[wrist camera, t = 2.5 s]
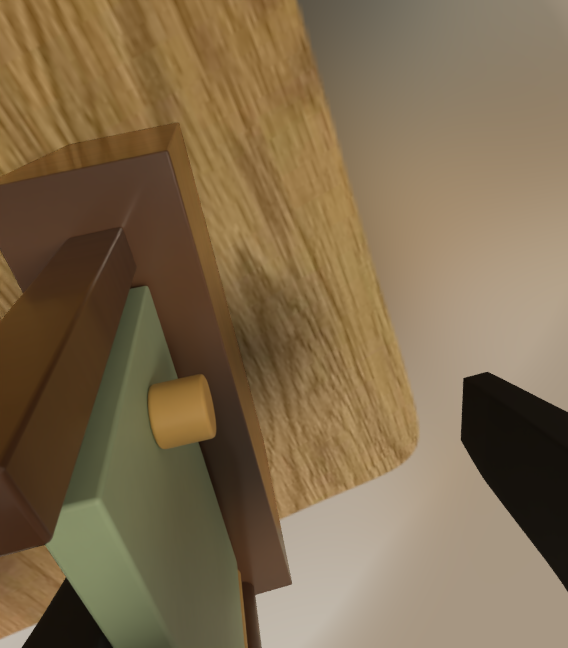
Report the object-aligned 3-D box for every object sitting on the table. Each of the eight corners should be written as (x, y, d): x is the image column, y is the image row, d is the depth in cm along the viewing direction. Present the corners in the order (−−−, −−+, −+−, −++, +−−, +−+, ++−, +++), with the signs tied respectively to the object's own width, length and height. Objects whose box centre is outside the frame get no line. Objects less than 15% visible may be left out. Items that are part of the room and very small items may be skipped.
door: (269, 570, 16) (308, 808, 11) (220, 583, 16) (234, 831, 10) (192, 274, 10) (192, 478, 5) (112, 291, 10) (23, 518, 5)
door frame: (263, 440, 24) (348, 862, 11) (191, 459, 24) (188, 917, 11) (179, 122, 16) (117, 280, 3) (67, 144, 16) (-550, 432, 3)
